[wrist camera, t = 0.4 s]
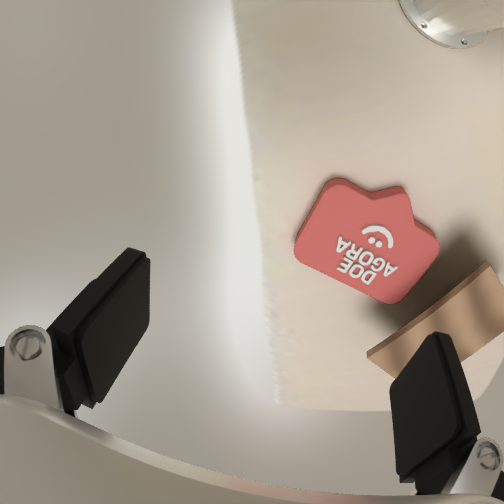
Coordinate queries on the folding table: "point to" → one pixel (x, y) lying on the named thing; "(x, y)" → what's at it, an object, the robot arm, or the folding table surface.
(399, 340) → the overhang ledge
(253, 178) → the folding table surface
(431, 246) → the plaque
